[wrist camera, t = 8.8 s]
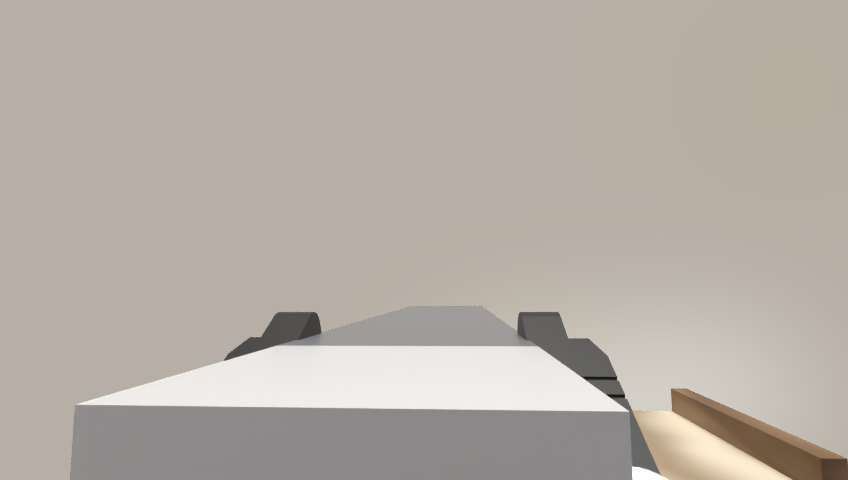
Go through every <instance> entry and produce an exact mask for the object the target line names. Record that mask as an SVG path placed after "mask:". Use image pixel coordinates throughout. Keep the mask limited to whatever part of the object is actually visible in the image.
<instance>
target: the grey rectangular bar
mask: <svg viewBox="0 0 848 480" xmlns="http://www.w3.org/2000/svg"><path fill="white" fill-rule="evenodd" d="M72 443H73V444H72V457H71V472H70V480H633V473H632V452H631V431H630V412H629V411H628V410H627V409H625V408H624V407H622V406H621V405H620V404H618V403H617V402H615V401H614V400H613V399H611V398H610V397H608V396H607V395H606V394H604V393H603V392H601V391H600V390H599V389H597V388H596V387H594V386H593V385H592V384H590V383H589V382H587V381H586V380H585V379H583V378H582V377H580V376H579V375H578V374H576V373H575V372H573V371H572V370H571V369H569V368H568V367H566V366H565V365H564V364H562V363H561V362H559V361H558V360H557V359H555V358H554V357H552V356H551V355H550V354H548V353H547V352H545V351H544V350H543V349H541V348H540V347H538V346H537V345H536V344H534V343H533V342H531V341H527V340H525V339H524V338H523V337H521V336H520V335H519V334H517V331H516V330H515V329H513V328H512V327H510V326H509V325H507V324H506V323H505V322H503V321H502V320H500V319H499V318H497V317H496V316H495V315H493V314H492V313H491V312H489V311H488V310H487V309H485V308H484V307H482V306H454V307H453V306H444V307H443V306H435V307H433V306H427V307H426V306H423V307H421V306H418V307H407V308H403V309H400V310H397V311H394V312H390V313H387V314H383V315H380V316H376V317H373V318H369V319H366V320H363V321H359V322H356V323H352V324H349V325H345V326H342V327H339V328H335V329H332V330H328V331H325V332H322V333H321V334H318V335H314V336H311V337H308V338H304V339H301V340H294V341H291V342H287V343H284V344H281V345H277V346H274V347H270V348H267V349H264V350H260V351H257V352H253V353H250V354H246V355H243V356H240V357H236V358H233V359H229V360H226V361H223V362H219V363H216V364H212V365H209V366H206V367H202V368H199V369H196V370H192V371H188V372H185V373H182V374H178V375H175V376H171V377H168V378H165V379H161V380H158V381H154V382H151V383H148V384H144V385H141V386H137V387H134V388H131V389H127V390H124V391H120V392H117V393H114V394H110V395H107V396H103V397H100V398H96V399H93V400H89V401H86V402H83V403H79V404H76V405H75V413H74V428H73V442H72Z"/></svg>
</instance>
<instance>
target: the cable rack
mask: <svg viewBox="0 0 848 480" xmlns="http://www.w3.org/2000/svg"><path fill="white" fill-rule="evenodd" d="M671 397H672V411H632V412H633V414H634V416H635V418H636V421H637V423H638V425H639V427H640V429H641V432H642V434H643V436H644V438H645V441H646V443H647V445H648V447H649V450H650V452H651V454H652V456H653V459H654V461H655V463H656V465H657V468H658V470H659V472H660V474H661V475H662V476H663V477H664V478H666V479H668V480H848V462H847V459H846V458H844V457H842V456H839V455H837V454H835V453H833V452H830V451H828V450H826V449H823V448H821V447H819V446H817V445H814V444H812V443H810V442H807V441H805V440H803V439H800V438H798V437H796V436H794V435H791V434H789V433H787V432H784V431H782V430H780V429H777V428H775V427H773V426H771V425H768V424H766V423H764V422H761V421H759V420H756V419H755V418H752V417H750V416H748V415H745V414H743V413H741V412H738V411H736V410H734V409H732V408H729V407H727V406H725V405H722V404H720V403H718V402H715V401H713V400H711V399H709V398H706V397H704V396H702V395H699V394H697V393H695V392H692V391H690V390H688V389H671Z"/></svg>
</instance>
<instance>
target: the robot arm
mask: <svg viewBox="0 0 848 480" xmlns="http://www.w3.org/2000/svg"><path fill="white" fill-rule="evenodd" d="M318 334H321V327H320V321H319V317H318V315H317V313H315V312H279V313H277V314H276V315H275V316H274V317H273V319H272V321H271V322H270V324H269V325H268V327H267V329H266V330H265V332H264V333H263V335H262V337H256V338H254V337H250V338H249V339H248V340H246V341H245V342H243V343H242V344H241V345H239V346H238V347H237V348H236V349H234V350H233V351H231V352H230V353H229V354H228V355H227V357H226V358H225V360H224V361H226V360H229V359H233V358H236V357H240V356H243V355H246V354H250V353H253V352H257V351H260V350H264V349H267V348H270V347H274V346H277V345H281V344H284V343H287V342H291V341H294V340H301V339H304V338H308V337H311V336H314V335H318ZM517 334H519V335H520V336H521V337H523V338H524V339H525V340H527V341H531V342H533V343H534V344H536V345H537V346H538V347H540V348H541V349H543V350H544V351H545V352H547V353H548V354H550V355H551V356H552V357H554V358H555V359H557V360H558V361H559V362H561V363H562V364H564V365H565V366H566V367H568V368H569V369H571V370H572V371H573V372H575V373H576V374H578V375H579V376H580V377H582V378H583V379H585V380H586V381H587V382H589V383H590V384H592V385H593V386H594V387H596V388H597V389H599V390H600V391H601V392H603V393H604V394H606V395H607V396H608V397H610V398H611V399H613V400H614V401H615V402H617V403H618V404H620V405H621V406H622V407H624V408H625V409H627V410H628V411H629V412H630V431H631V452H632V473H633V480H668V479H666V478H664V477H663V476H662V475H661V474H660V472H659V470H658V468H657V465H656V463H655V461H654V459H653V456H652V454H651V452H650V450H649V447H648V445H647V443H646V441H645V438H644V436H643V434H642V432H641V429H640V427H639V425H638V423H637V421H636V418H635V416H634V414H633V412H632V409H631V407H630V405H629V403H628V400H627V399H625V394H624V391H623V389H622V387H621V385H620V383H619V381H617V376H616V374H615V371H614V369H613V367H612V365H611V363H610V360H609V358H608V356H607V355H606V354H605V353H604V352H602V350H600V349H599V348H598V347H597V346H596V345H595V344H594V343H593V342H592V341H590V340H589V339H568V337H567V334H566V331H565V328H564V325H563V323H562V319H561V317H560V314H559V313H558V312H520V313H519V316H518V332H517Z"/></svg>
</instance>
